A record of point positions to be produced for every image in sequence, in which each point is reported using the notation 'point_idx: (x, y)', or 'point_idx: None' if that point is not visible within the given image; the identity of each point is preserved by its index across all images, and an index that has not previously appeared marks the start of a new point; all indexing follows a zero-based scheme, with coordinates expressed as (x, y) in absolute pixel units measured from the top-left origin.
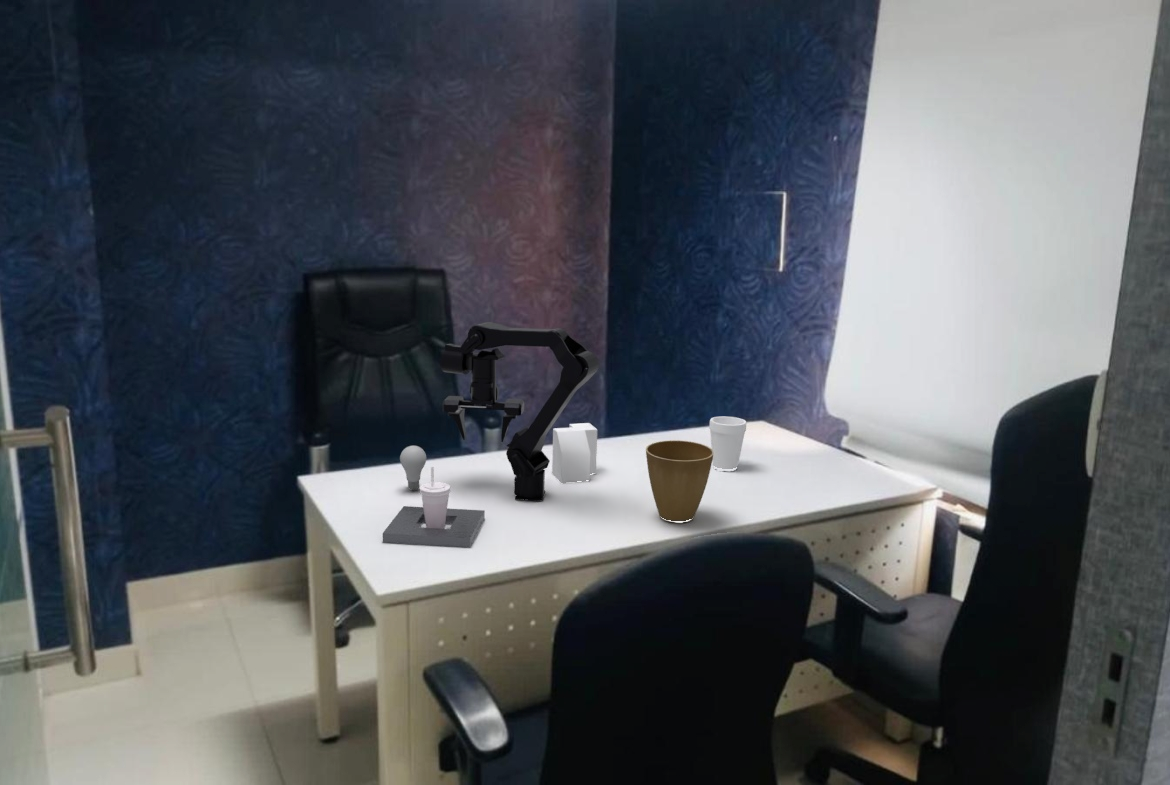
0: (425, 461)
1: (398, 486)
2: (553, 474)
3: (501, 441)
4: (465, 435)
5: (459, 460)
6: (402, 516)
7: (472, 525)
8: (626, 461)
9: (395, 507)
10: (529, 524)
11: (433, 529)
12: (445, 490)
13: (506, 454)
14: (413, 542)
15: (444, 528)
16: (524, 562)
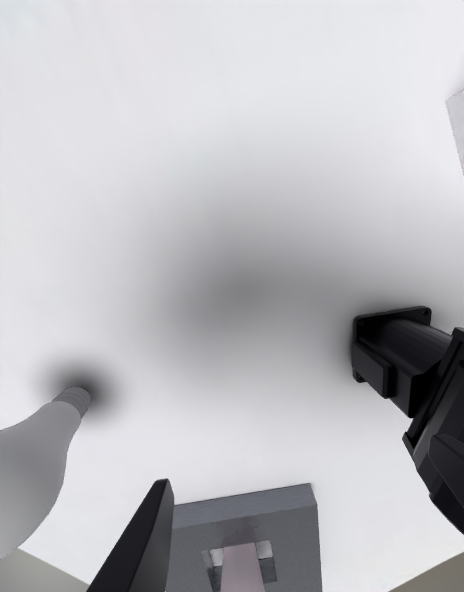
0: (57, 475)
1: (23, 378)
2: (451, 117)
3: (431, 461)
4: (163, 516)
5: (33, 20)
6: (170, 568)
7: (312, 561)
8: None
9: (109, 486)
10: (398, 478)
11: None
12: None
13: (431, 500)
14: None
15: (255, 546)
16: (401, 580)
